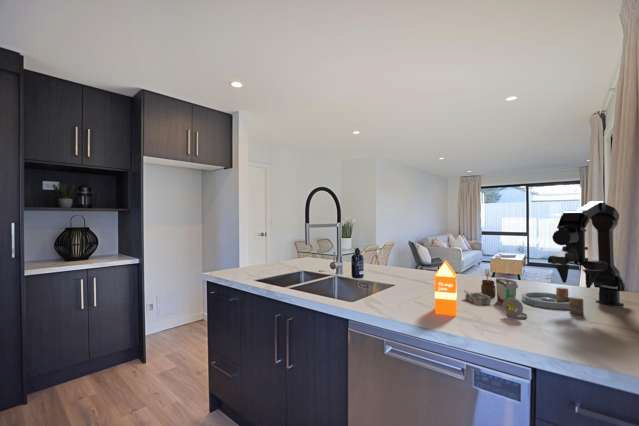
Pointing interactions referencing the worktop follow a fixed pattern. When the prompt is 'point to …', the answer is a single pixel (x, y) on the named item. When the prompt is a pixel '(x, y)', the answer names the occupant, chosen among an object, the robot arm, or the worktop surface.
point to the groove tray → (544, 300)
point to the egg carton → (478, 298)
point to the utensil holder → (488, 286)
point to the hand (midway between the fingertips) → (575, 285)
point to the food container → (505, 289)
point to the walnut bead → (576, 306)
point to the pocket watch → (513, 307)
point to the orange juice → (445, 290)
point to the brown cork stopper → (561, 294)
